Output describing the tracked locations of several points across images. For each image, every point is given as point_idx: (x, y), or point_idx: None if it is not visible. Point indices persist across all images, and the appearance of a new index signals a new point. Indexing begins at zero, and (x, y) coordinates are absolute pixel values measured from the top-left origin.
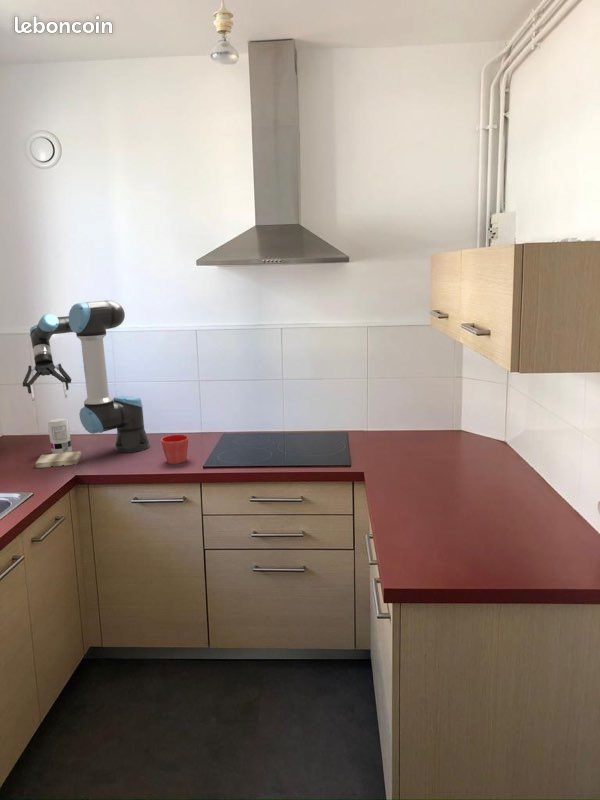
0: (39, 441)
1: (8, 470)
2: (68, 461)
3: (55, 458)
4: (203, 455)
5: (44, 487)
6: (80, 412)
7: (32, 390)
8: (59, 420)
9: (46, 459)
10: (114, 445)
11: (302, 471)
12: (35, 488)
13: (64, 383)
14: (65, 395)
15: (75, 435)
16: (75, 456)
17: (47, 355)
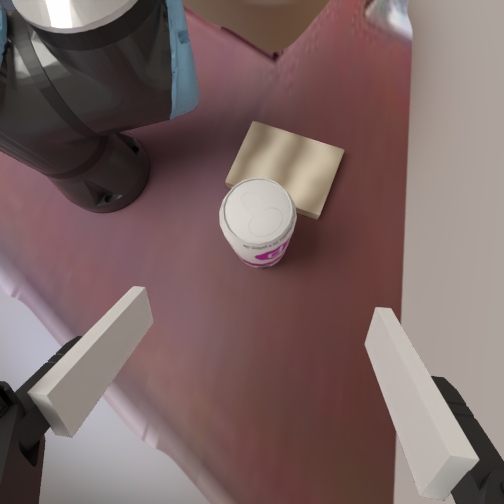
0: (289, 439)
1: (402, 180)
2: (270, 128)
3: (293, 159)
4: None
5: (343, 29)
6: (188, 34)
7: (414, 369)
8: (252, 200)
9: (314, 165)
10: (141, 174)
11: None
12: (359, 33)
13: (53, 376)
14: (146, 297)
15: (173, 428)
16: (248, 145)
17: None
